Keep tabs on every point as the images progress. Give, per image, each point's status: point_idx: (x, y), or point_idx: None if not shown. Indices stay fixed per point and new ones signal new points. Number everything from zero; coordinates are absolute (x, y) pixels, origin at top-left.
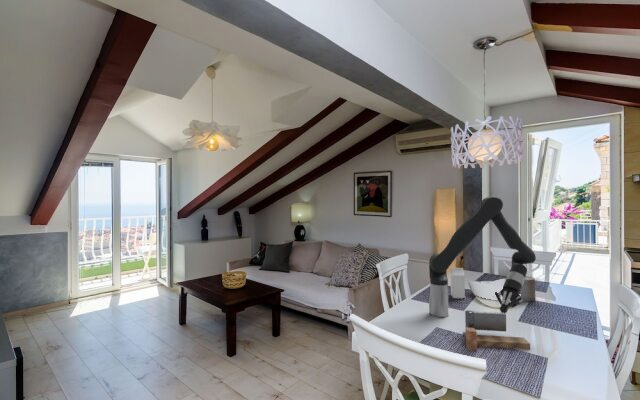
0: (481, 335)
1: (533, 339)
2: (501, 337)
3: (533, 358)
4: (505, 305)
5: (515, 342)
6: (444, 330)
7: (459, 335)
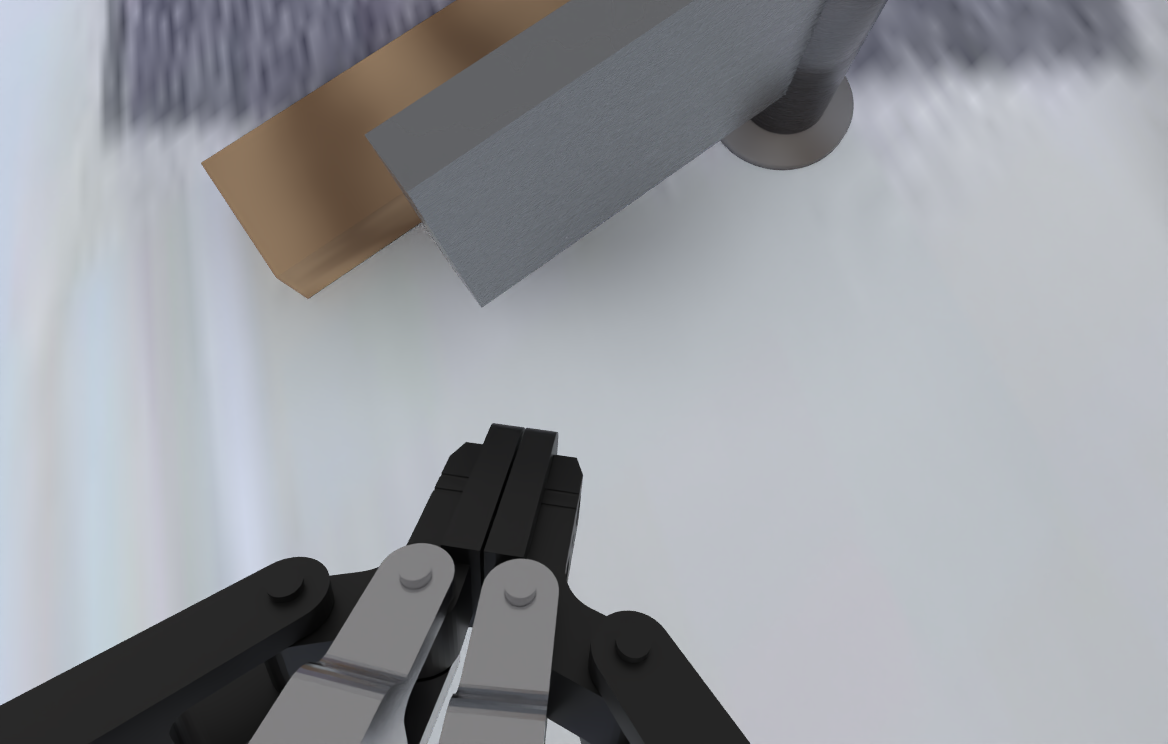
0: None
1: (237, 471)
2: None
3: (198, 42)
4: (450, 531)
5: (324, 92)
6: (1022, 37)
7: None
